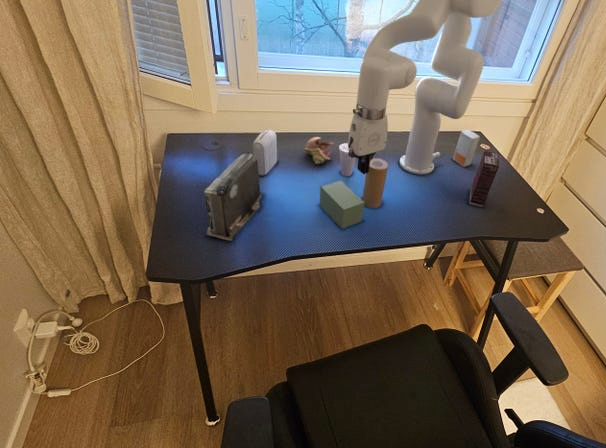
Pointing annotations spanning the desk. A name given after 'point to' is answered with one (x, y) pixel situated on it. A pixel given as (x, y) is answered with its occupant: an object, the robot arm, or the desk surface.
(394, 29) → the robot arm
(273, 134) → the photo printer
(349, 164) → the smoothie
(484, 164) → the supplement box
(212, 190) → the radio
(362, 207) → the green block
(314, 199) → the desk surface
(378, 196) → the paper roll
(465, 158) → the cosmetic box
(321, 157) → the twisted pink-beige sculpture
